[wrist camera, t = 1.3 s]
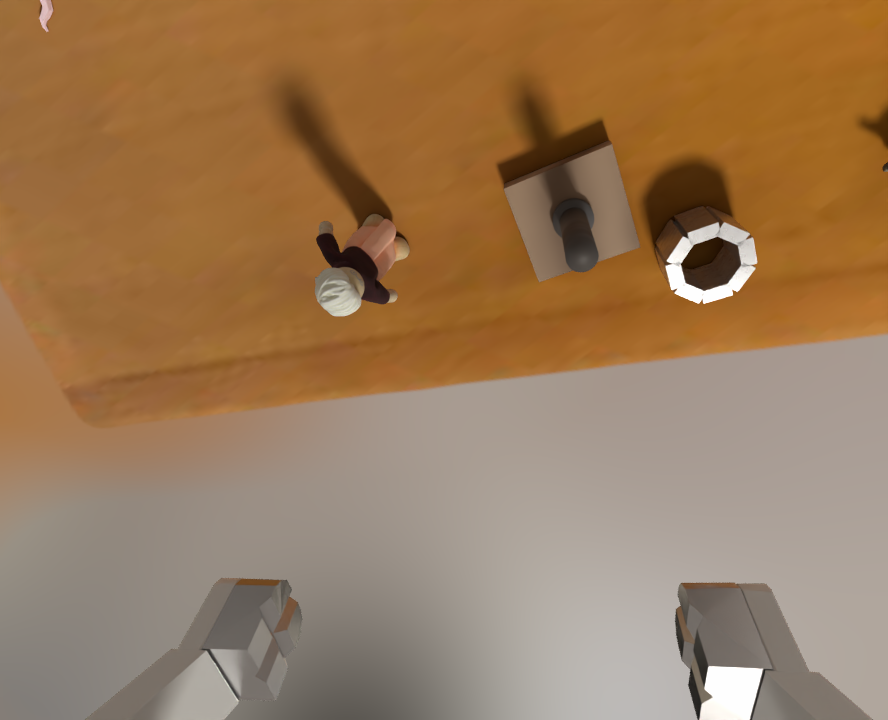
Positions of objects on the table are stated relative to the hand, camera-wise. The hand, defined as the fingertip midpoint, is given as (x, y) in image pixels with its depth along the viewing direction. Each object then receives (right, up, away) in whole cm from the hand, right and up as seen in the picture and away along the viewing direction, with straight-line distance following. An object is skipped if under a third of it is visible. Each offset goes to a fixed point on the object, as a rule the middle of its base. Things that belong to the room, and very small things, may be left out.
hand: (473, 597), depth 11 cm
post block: (+9, +16, +30) cm, 36 cm away
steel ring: (+19, +14, +30) cm, 38 cm away
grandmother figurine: (-6, +16, +33) cm, 37 cm away
